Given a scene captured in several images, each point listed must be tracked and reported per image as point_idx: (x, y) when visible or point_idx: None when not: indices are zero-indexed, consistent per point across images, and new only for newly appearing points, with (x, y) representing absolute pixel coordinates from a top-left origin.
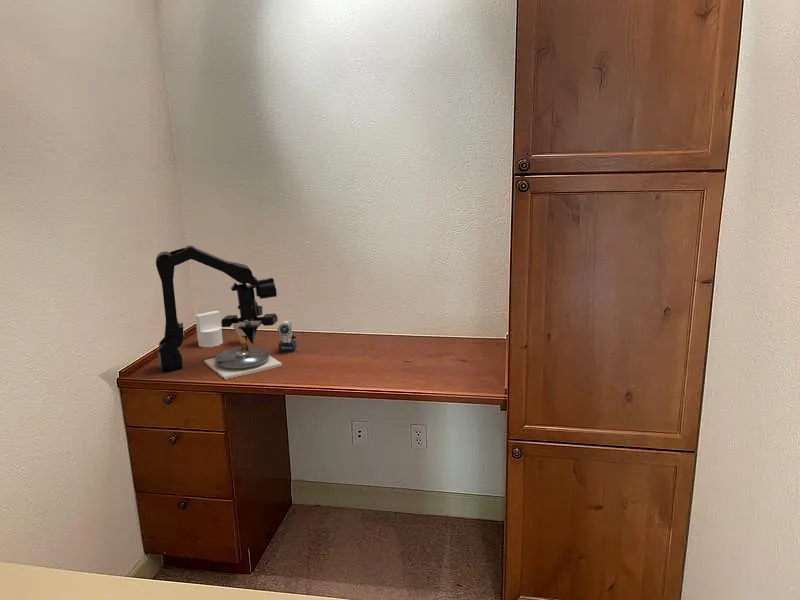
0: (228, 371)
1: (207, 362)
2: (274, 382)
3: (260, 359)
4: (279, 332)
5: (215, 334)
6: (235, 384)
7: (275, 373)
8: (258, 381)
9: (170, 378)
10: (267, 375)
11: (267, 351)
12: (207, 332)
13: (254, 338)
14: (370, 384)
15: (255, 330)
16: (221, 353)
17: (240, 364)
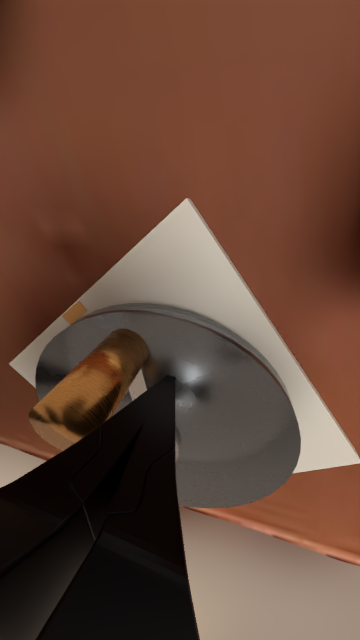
0: None
1: (35, 387)
2: (311, 536)
3: (258, 495)
4: None
5: None
6: (194, 510)
7: (317, 493)
8: (257, 517)
9: (18, 440)
10: (285, 497)
11: (291, 417)
12: None
13: (174, 408)
14: None
15: (166, 523)
16: (46, 391)
17: (182, 504)
